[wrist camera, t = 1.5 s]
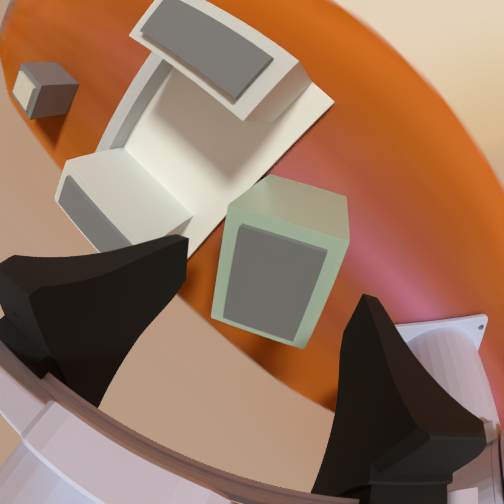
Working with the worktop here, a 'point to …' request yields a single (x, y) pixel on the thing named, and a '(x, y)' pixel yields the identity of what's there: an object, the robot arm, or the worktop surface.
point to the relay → (44, 89)
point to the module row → (189, 129)
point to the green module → (280, 258)
